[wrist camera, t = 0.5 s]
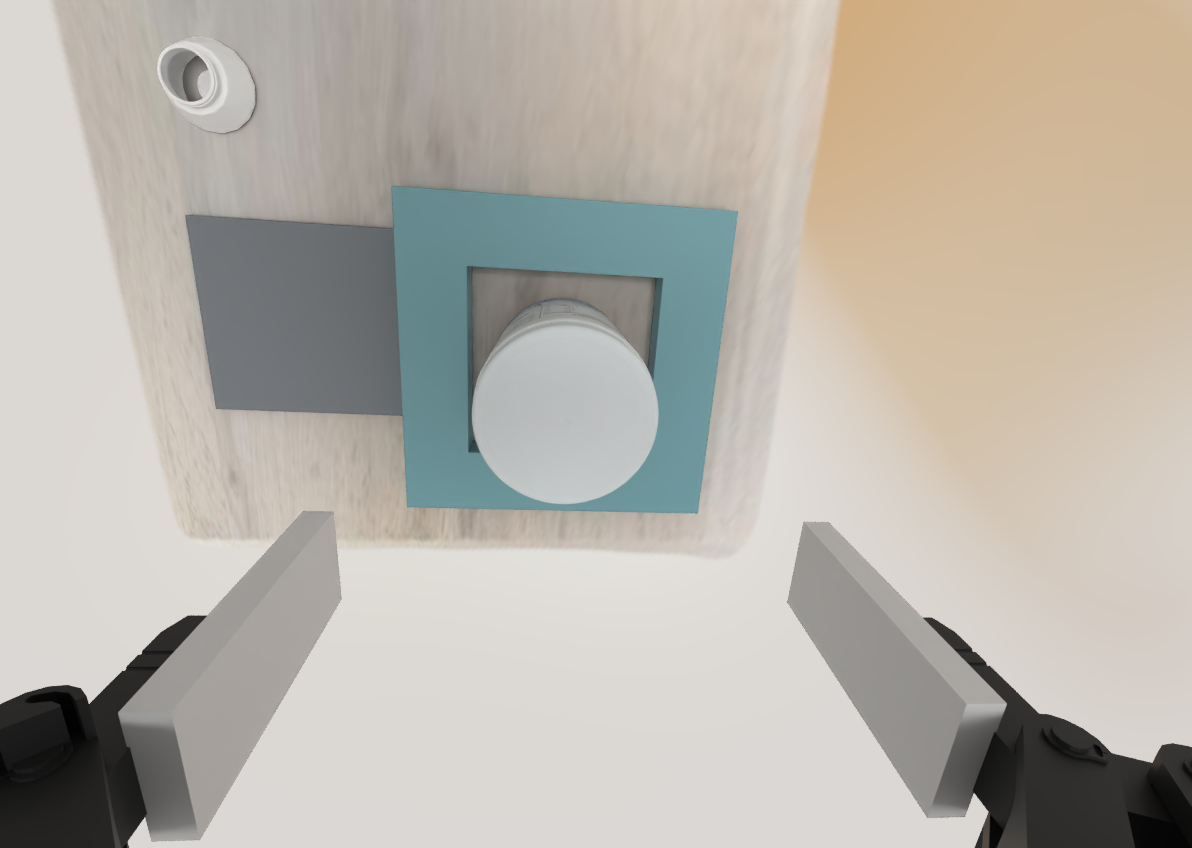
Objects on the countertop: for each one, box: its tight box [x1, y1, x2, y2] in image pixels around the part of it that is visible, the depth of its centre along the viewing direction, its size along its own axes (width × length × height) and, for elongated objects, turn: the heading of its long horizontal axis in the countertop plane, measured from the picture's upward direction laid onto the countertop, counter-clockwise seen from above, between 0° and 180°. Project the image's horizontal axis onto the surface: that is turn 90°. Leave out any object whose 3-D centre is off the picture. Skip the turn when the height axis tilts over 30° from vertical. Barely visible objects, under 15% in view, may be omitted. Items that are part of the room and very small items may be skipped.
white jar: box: [157, 36, 255, 133], centre depth 33 cm, size 5×3×5 cm
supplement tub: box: [472, 298, 659, 504], centre depth 34 cm, size 10×10×15 cm
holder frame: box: [392, 186, 738, 513], centre depth 40 cm, size 22×22×2 cm
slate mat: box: [185, 215, 403, 416], centre depth 38 cm, size 13×13×1 cm
